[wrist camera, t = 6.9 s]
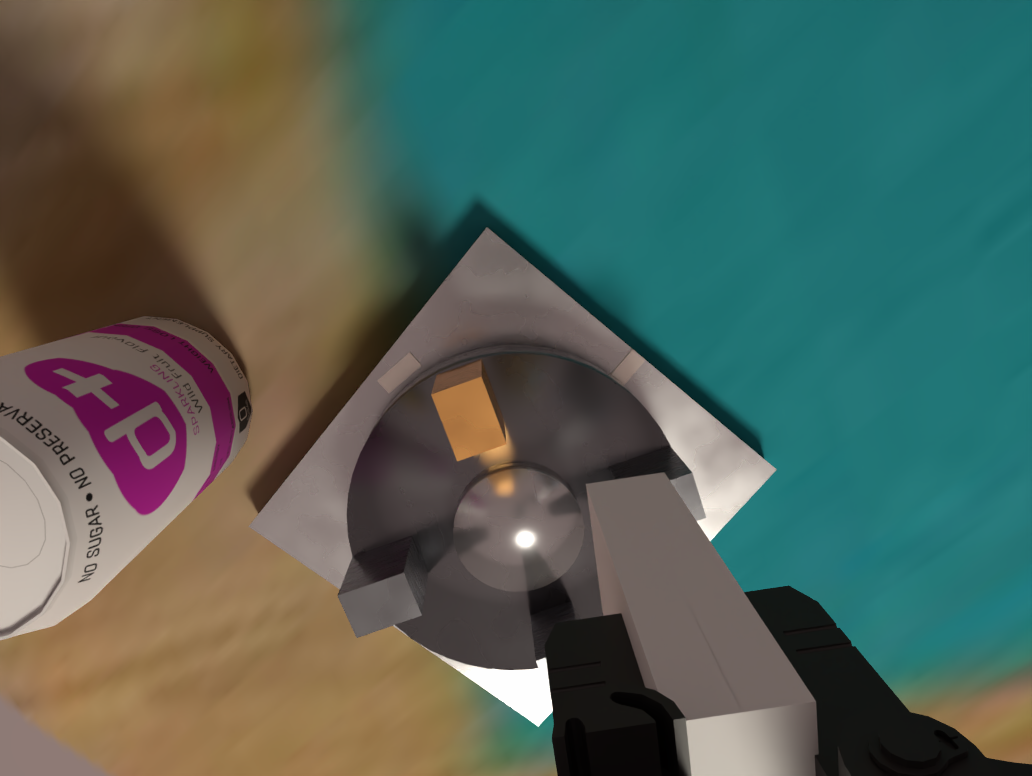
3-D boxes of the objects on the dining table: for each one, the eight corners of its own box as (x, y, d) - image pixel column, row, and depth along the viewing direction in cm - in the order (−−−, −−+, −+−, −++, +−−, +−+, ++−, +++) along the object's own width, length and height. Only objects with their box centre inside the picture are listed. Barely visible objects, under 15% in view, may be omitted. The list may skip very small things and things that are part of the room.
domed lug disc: (305, 409, 33) (267, 449, 27) (617, 298, 32) (646, 315, 27) (424, 680, 36) (413, 766, 31) (707, 583, 36) (750, 653, 30)
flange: (486, 226, 33) (486, 227, 32) (764, 459, 36) (777, 470, 35) (258, 513, 36) (248, 527, 34) (536, 707, 39) (538, 727, 37)
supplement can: (200, 284, 33) (-22, 337, 19) (287, 440, 35) (148, 598, 20) (45, 358, 34) (-290, 465, 19) (140, 508, 35) (-99, 710, 21)
